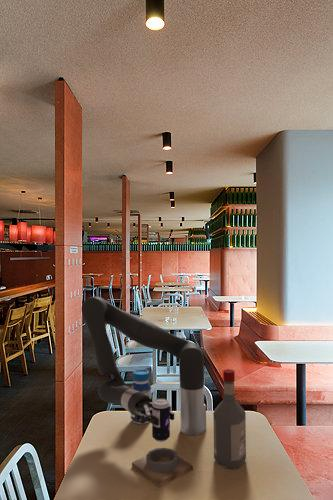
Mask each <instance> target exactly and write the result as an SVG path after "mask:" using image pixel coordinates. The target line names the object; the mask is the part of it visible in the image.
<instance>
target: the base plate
mask: <svg viewBox="0 0 333 500" xmlns="http://www.w3.org/2000/svg"><path fill="white" fill-rule="evenodd" d="M171 460H172V459H170V458H167V457H157V458H155V459H153V460H152V461H154V462H157V463H167V462H169V461H171ZM131 467H132V468H133V469H134V470H136V471H137V472H138V473H140V474H141V475H142V476H143V477H145V478H146V479H147V480H148V481H150V483H152V484H154V486H156V487H158V488H160V487H162V486H163V485H165V484H167V483H169V482H171V481H173V480H175V479H177V478H179V477H181V476H183V475H186V474H187V473H189V472H191V471H193V470H194V465H193V464H192V463H190V462H188V461H187V460H186V459H184V458H182V457H181V456H179V455H178V465H177V467H176V469H174V470H172V471H170V472H165V473H158V472H153V471H151V470H150V469H148V468H147V464H146V455H145V456H143V457H141V458H139V459H136V460H134V461H131Z"/></svg>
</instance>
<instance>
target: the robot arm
mask: <svg viewBox="0 0 333 500" xmlns="http://www.w3.org/2000/svg"><path fill="white" fill-rule="evenodd" d="M81 314H82V316H83V318H84V321H85V323H86V326H87V328H88V332H89V335H90V338H91V343H92V346H93V350H94V355H95V361H96V365H97V371H98V373H99V375H101V376H108V375H110V377H111V379H109V380H105V381H103V382H101V383H100V384H99V386H98V387H97V394H98V396H99V398H100V399H101V400H102V401H103V402H105V403H108V404H112V405H118V406H120V407H121V408H123V409H125V410H126V411H127V412H128V413H130V419H131V420H132V419H133V420H135V421H138V422H140V423H145V422H146V421H147V422H148V423H147V424H149V423H151V425H152V424H154V425H156V426H158V425H159V419H158V418H157V417H155V416H153V415H152V405H153V401H152V398H151V399H150V397H149V396H147V395H145V394H143V393H141V392H139V391H137V390H134V389H132V387H130V386H127V385H126V382H125V380H124V378H123V376H122V375H121V373H120V371H119V368H118V366H117V363H116V362H117V361H116V357H115V353H114V349H113V346H112V343H111V340H110V338H109V336H108V332H107V327H106V325H110V326H111V327H113V328H115V329H116V330H117V331H119V332H120V333H121V334H122V335H124V337H125V336H126V337H127V338H128V339H130V340H132V341H133V342H136V344H139V345H141V346H144V347H147V348H149V349H154V350H157V351H158V350H159V351H163V352H166V353H168V354H170V355H172V356H174V357H175V358H177V359H179V391H180V392H179V399H180V400H179V403H180V405H179V406H180V407H179V408H180V410H179V411H180V415H179V417H180V418H179V419H180V431H181V433H182V434H184V435H187V436H199V435H202V434H203V433H205V431H206V429H207V405H206V404H205V387H204V386H205V357H204V352H203V349H202V348H201V346H200V345H199V344H197V343H196V342H193V341H190V340H187V339H185V338H183V337H182V338H181V337H180V336H177V335H174V334H173V333H171V332H169V331H167V330H166V329H164V328H162V327H160V326H158V325H156V324H155V323H153V322H151V321H148V320H146V319H144V318H142V317H139V316H138V315H136V314H132V313H131V312H128V311H124V310H122V309H120V308H118V307H116V306H115V305H114V304H111V302H109V301H107V300H106V299H104V298H103V297H101V296H98V295H97V296H90V297H88V298H86V299H85V300H84V301H83V302H82V305H81ZM140 418H141V419H140ZM174 420H175V412H173V411H172V405H170V421H174ZM145 424H146V423H145Z"/></svg>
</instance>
